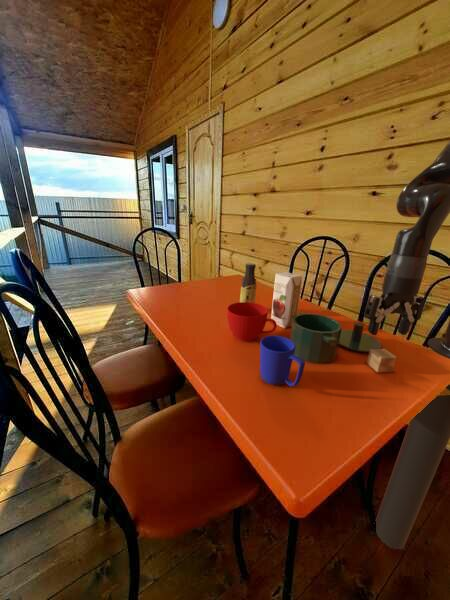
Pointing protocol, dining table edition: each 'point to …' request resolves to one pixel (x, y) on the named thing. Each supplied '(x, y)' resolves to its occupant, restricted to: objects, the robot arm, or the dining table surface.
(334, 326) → the pot
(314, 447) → the dining table surface
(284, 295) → the juice carton
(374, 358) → the block
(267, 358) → the mug
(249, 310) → the ceramic cup
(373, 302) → the robot arm
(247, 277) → the sauce bottle
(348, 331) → the lid
